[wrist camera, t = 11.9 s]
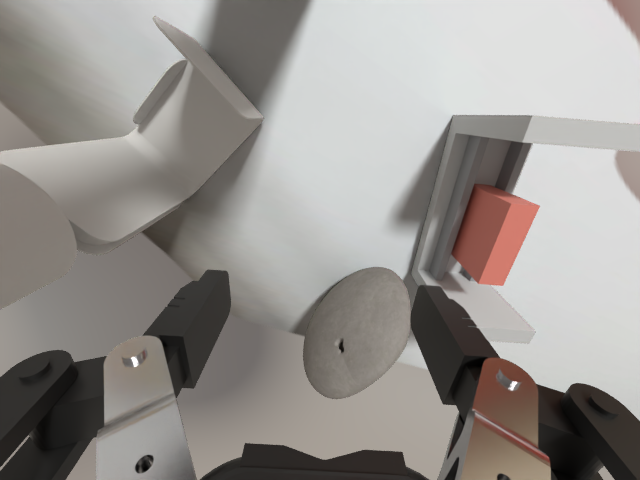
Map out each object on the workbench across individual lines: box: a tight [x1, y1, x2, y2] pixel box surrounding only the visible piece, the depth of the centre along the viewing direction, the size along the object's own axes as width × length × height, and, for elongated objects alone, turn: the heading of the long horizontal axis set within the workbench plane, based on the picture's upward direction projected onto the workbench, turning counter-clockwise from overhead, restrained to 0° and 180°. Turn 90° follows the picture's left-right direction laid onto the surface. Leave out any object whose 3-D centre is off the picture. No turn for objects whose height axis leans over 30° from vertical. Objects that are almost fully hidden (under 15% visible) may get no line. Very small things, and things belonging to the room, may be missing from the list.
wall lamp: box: [0, 16, 264, 309], centre depth 22 cm, size 10×21×30 cm, turn 131°
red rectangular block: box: [451, 184, 540, 286], centre depth 33 cm, size 10×3×9 cm, turn 176°
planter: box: [303, 267, 411, 399], centre depth 36 cm, size 18×7×19 cm, turn 136°
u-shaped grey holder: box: [411, 115, 640, 344], centre depth 32 cm, size 24×10×14 cm, turn 176°
